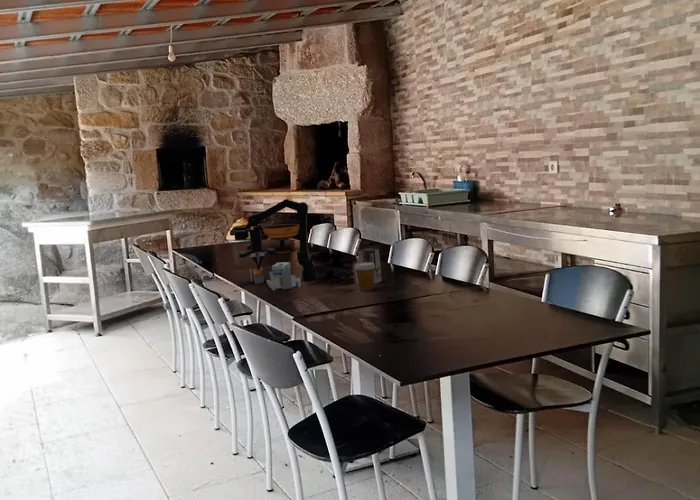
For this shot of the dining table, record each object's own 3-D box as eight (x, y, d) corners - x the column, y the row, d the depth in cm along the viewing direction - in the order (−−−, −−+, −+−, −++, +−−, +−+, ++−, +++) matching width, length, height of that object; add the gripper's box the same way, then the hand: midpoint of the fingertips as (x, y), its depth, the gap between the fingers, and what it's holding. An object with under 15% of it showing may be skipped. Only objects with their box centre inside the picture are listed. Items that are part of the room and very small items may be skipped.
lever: (260, 273, 345) (259, 267, 344) (263, 275, 335) (262, 268, 335) (252, 274, 344) (252, 268, 343) (255, 276, 334) (254, 269, 333)
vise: (288, 276, 349) (287, 264, 348) (301, 287, 317) (300, 274, 316) (250, 280, 344) (249, 268, 343) (260, 292, 312) (258, 279, 311)
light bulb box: (286, 287, 321) (284, 265, 319) (273, 287, 322) (271, 265, 321) (292, 282, 331) (290, 261, 330) (279, 283, 332) (277, 262, 331)
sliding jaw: (300, 284, 323) (298, 266, 321) (302, 287, 316) (301, 268, 315) (269, 288, 319) (268, 270, 318) (272, 290, 312) (270, 272, 311)
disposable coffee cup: (366, 286, 309) (364, 261, 307) (381, 288, 302) (379, 262, 300) (352, 290, 302) (350, 264, 301) (366, 292, 296) (365, 266, 294)
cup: (260, 257, 427) (257, 230, 424) (253, 252, 451) (251, 227, 448) (313, 251, 438) (311, 225, 435) (303, 247, 462) (302, 222, 459)
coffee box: (382, 281, 319) (380, 248, 317) (377, 283, 314) (375, 250, 311) (365, 280, 323) (363, 248, 321) (359, 283, 318) (357, 250, 315)
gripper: (271, 236, 343) (273, 266, 345) (235, 239, 338) (238, 269, 340) (275, 238, 332) (277, 268, 334) (238, 241, 327) (240, 272, 329)
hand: (258, 269), depth 335 cm, fingers closed, pressing on lever
